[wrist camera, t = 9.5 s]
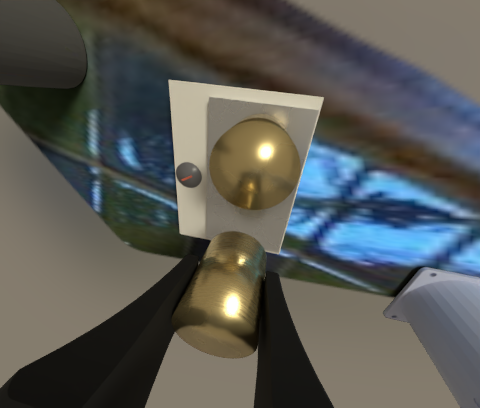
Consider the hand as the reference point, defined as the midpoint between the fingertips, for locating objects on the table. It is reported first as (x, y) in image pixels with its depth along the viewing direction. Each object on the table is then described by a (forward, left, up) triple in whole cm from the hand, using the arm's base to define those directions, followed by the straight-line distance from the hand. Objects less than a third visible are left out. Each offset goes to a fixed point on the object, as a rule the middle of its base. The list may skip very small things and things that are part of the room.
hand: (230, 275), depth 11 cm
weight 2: (0, 0, -2) cm, 2 cm away
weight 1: (0, -6, -6) cm, 8 cm away
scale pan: (0, -3, -6) cm, 7 cm away
